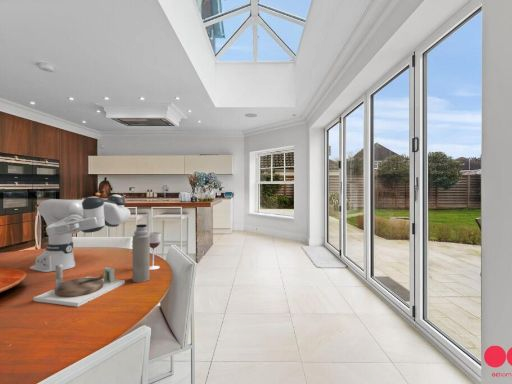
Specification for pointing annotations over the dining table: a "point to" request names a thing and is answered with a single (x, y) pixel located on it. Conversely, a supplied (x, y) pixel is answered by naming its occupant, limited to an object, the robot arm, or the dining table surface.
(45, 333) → the dining table surface
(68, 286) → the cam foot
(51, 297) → the stand
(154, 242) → the wineglass
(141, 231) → the thermos bottle
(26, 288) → the dining table surface
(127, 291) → the dining table surface
